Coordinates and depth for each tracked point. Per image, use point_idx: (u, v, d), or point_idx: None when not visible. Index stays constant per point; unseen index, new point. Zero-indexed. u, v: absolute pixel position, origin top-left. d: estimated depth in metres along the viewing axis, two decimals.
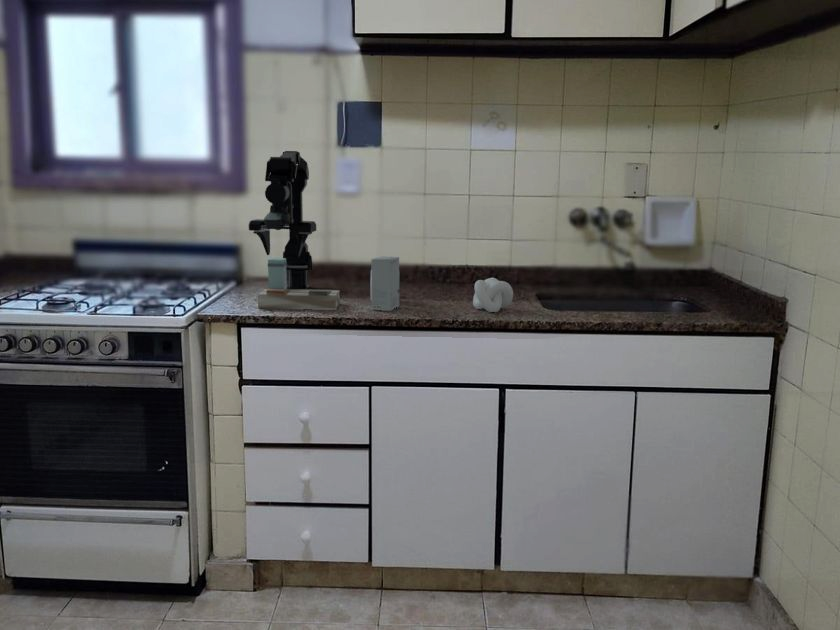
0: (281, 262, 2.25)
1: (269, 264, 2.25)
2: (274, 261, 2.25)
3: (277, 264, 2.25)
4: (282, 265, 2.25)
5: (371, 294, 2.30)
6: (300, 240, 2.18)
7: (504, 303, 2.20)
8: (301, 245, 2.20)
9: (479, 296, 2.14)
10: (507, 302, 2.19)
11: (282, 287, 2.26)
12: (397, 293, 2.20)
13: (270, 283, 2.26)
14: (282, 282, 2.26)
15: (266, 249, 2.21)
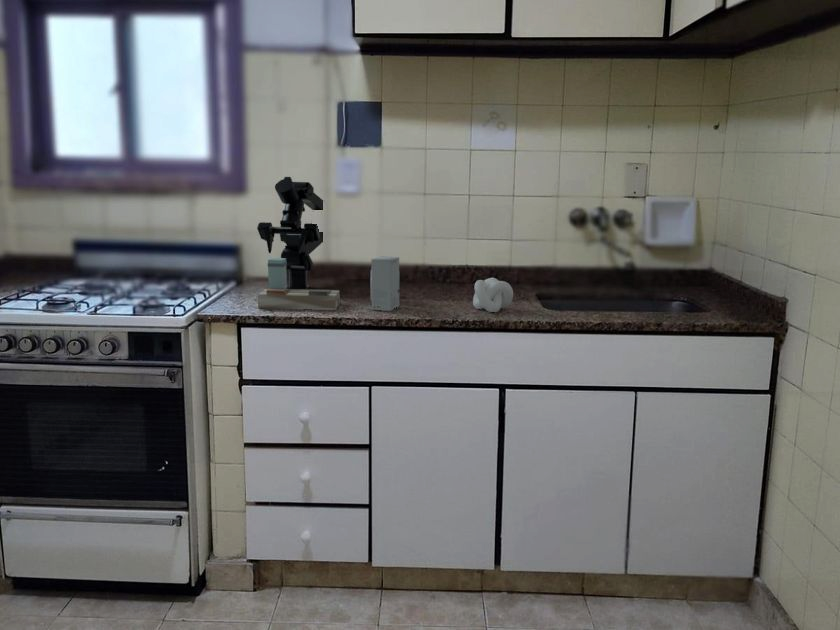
0: (281, 262, 2.25)
1: (269, 264, 2.25)
2: (274, 261, 2.25)
3: (277, 264, 2.25)
4: (282, 265, 2.25)
5: (371, 294, 2.30)
6: None
7: (504, 304, 2.20)
8: None
9: (479, 296, 2.14)
10: (507, 302, 2.19)
11: (282, 287, 2.26)
12: (397, 293, 2.20)
13: (270, 283, 2.26)
14: (282, 282, 2.26)
15: None
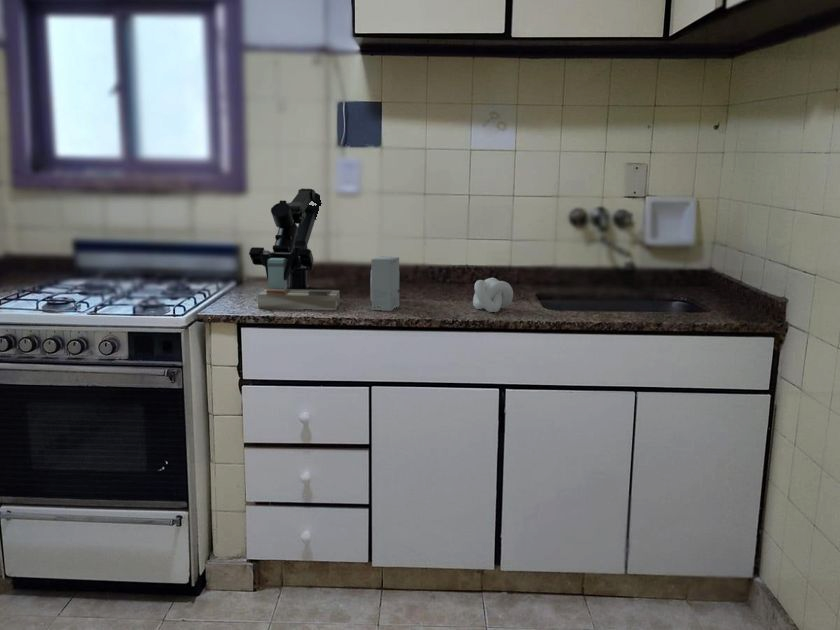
0: (281, 262, 2.25)
1: (269, 264, 2.25)
2: (274, 261, 2.25)
3: (277, 263, 2.25)
4: (281, 265, 2.25)
5: (371, 294, 2.30)
6: None
7: (504, 303, 2.20)
8: None
9: (479, 296, 2.14)
10: (507, 302, 2.19)
11: (282, 287, 2.26)
12: (397, 293, 2.20)
13: (270, 283, 2.26)
14: (282, 282, 2.26)
15: None
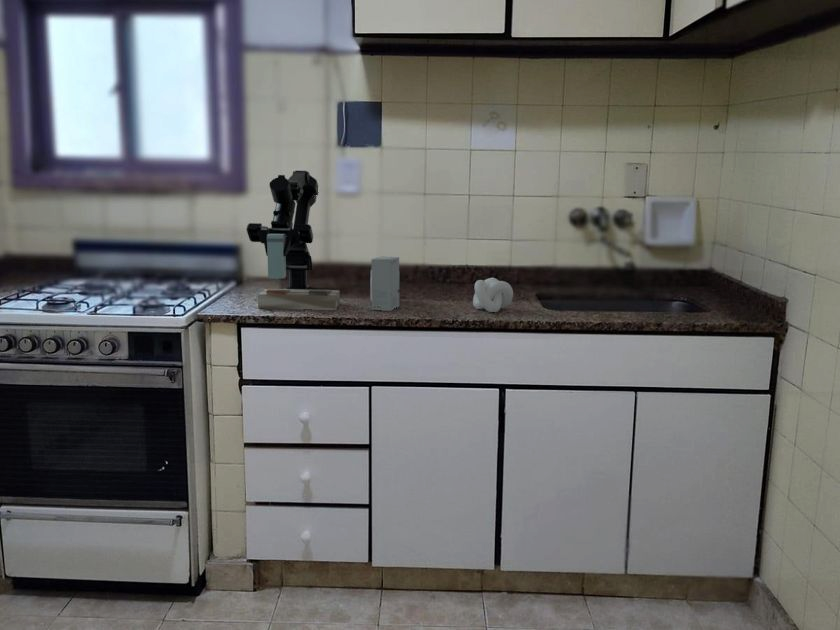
0: (281, 237, 2.18)
1: (268, 239, 2.18)
2: (273, 236, 2.18)
3: (277, 239, 2.18)
4: (281, 240, 2.18)
5: (371, 294, 2.30)
6: None
7: (504, 303, 2.20)
8: None
9: (479, 296, 2.14)
10: (507, 302, 2.19)
11: (282, 263, 2.19)
12: (397, 293, 2.20)
13: (269, 259, 2.19)
14: (282, 258, 2.19)
15: None
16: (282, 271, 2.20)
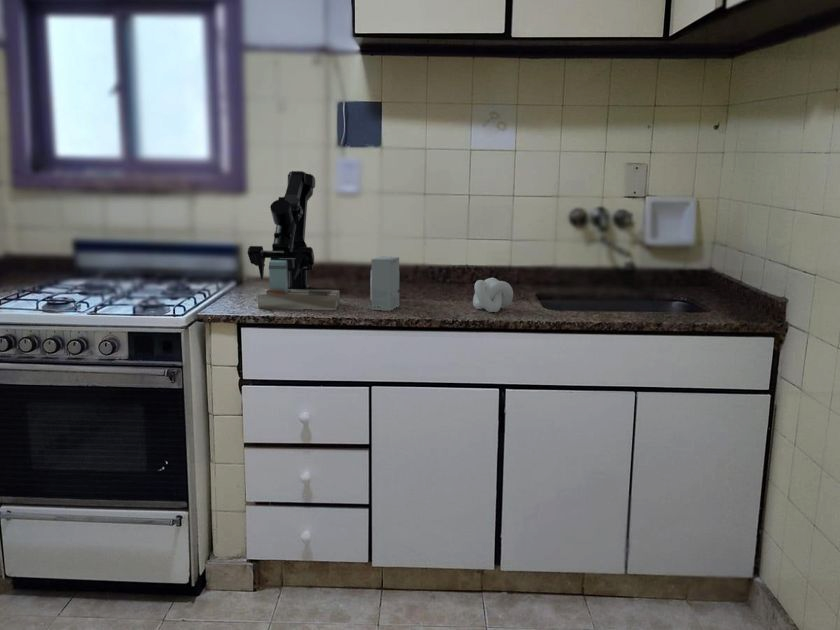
0: (283, 264, 2.17)
1: (270, 266, 2.17)
2: (275, 263, 2.17)
3: (279, 266, 2.17)
4: (283, 267, 2.17)
5: (371, 294, 2.30)
6: None
7: (504, 303, 2.20)
8: None
9: (479, 296, 2.14)
10: (507, 302, 2.19)
11: None
12: (397, 293, 2.20)
13: (271, 286, 2.18)
14: (284, 285, 2.18)
15: None
16: None
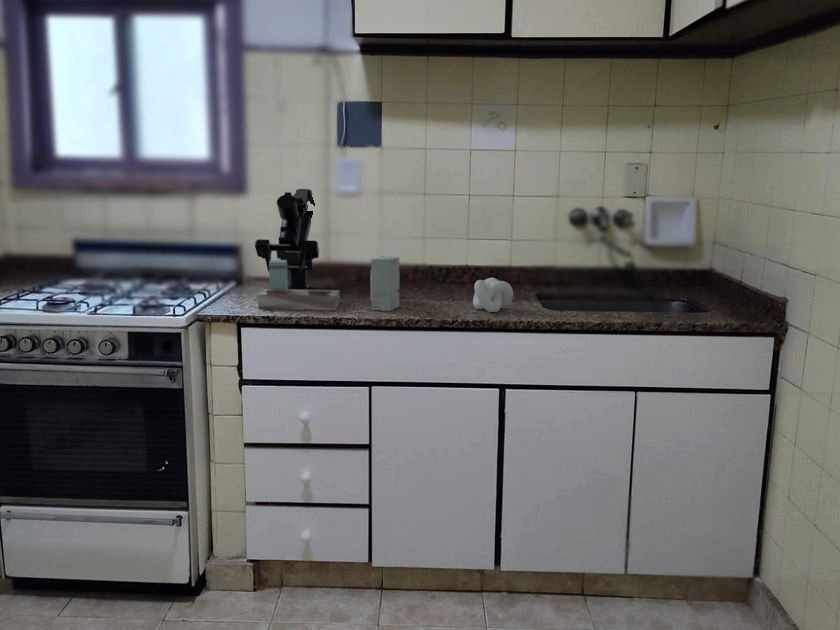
0: (283, 264, 2.17)
1: (270, 266, 2.17)
2: (275, 263, 2.17)
3: (279, 266, 2.17)
4: (283, 267, 2.17)
5: (371, 294, 2.30)
6: None
7: (504, 303, 2.20)
8: None
9: (479, 296, 2.14)
10: (507, 302, 2.19)
11: None
12: (397, 293, 2.20)
13: (271, 286, 2.18)
14: (284, 285, 2.18)
15: None
16: None
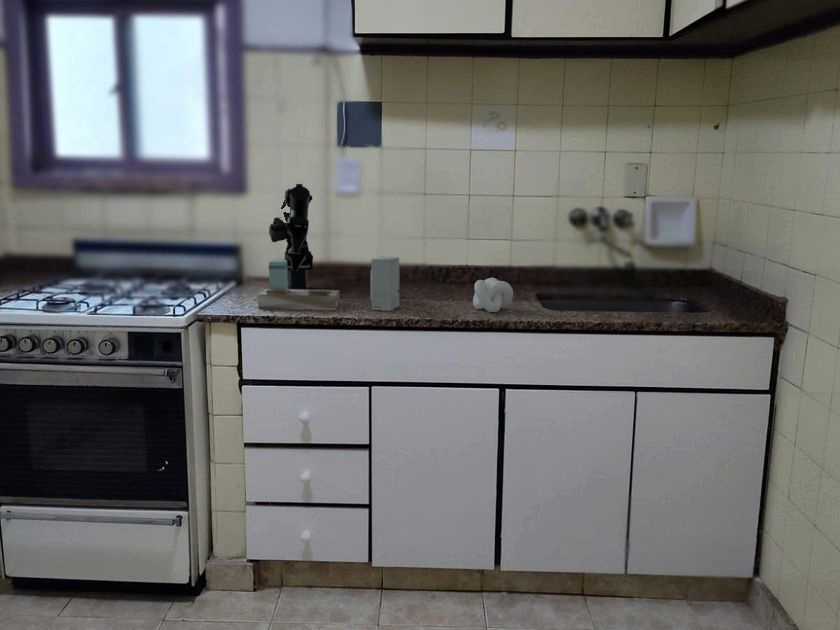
0: (283, 264, 2.17)
1: (270, 266, 2.17)
2: (275, 263, 2.17)
3: (279, 266, 2.17)
4: (283, 267, 2.17)
5: (371, 294, 2.30)
6: (292, 236, 2.26)
7: (504, 303, 2.20)
8: (295, 241, 2.25)
9: (479, 296, 2.14)
10: (507, 302, 2.19)
11: None
12: (397, 293, 2.20)
13: (271, 286, 2.18)
14: (284, 285, 2.18)
15: (292, 266, 2.33)
16: None
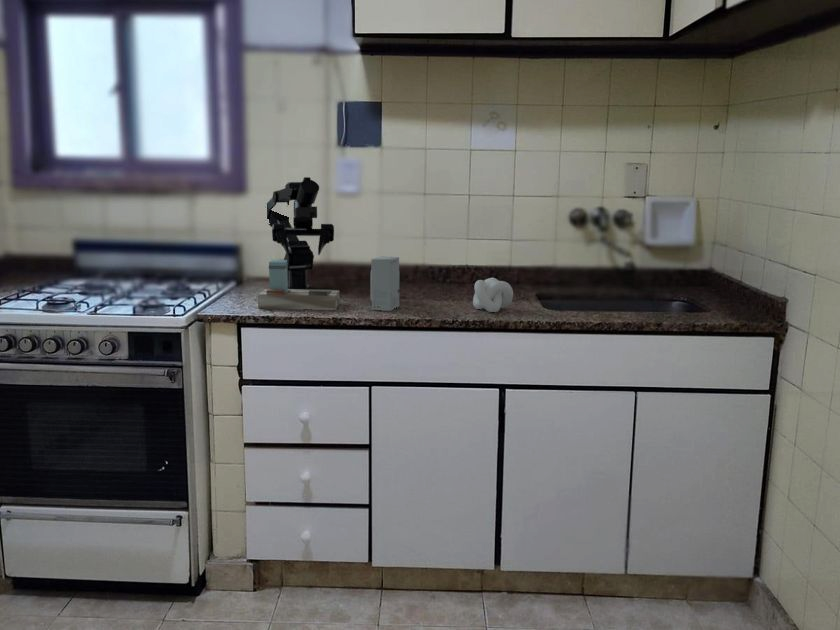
0: (283, 264, 2.17)
1: (270, 266, 2.17)
2: (275, 263, 2.17)
3: (279, 266, 2.17)
4: (283, 267, 2.17)
5: (371, 294, 2.30)
6: (322, 238, 2.32)
7: (504, 303, 2.20)
8: (322, 244, 2.32)
9: (479, 296, 2.14)
10: (507, 302, 2.19)
11: None
12: (397, 293, 2.20)
13: (271, 286, 2.18)
14: (284, 285, 2.18)
15: (287, 248, 2.30)
16: None
